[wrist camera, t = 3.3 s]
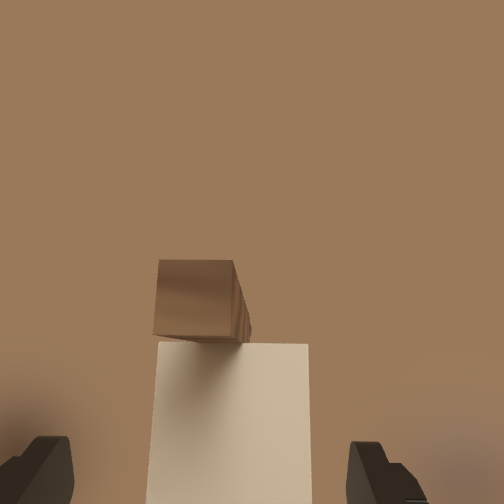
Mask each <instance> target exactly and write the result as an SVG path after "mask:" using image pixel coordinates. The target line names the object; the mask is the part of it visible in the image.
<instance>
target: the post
mask: <svg viewBox="0 0 504 504" xmlns="http://www.w3.org/2000/svg"><path fill="white" fill-rule="evenodd" d="M156 372H157V373H156V384H155V396H154V408H153V421H152V433H151V446H150V458H149V470H148V483H147V496H146V504H312V487H311V450H310V448H311V447H310V408H309V407H310V406H309V369H308V344H270V343H268V344H267V343H206V342H159V347H158V359H157V371H156Z"/></svg>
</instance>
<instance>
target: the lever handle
mask: <svg viewBox="0 0 504 504" xmlns="http://www.w3.org/2000/svg"><path fill="white" fill-rule="evenodd" d="M153 335H157V336H163V337H169V338H175V339H181V340H187V341H193V342H206V343H249V342H250V340H249V339H250V336H251V325H250V317H249V314H248V310H247V307H246V304H245V300H244V297H243V294H242V290H241V287H240V284H239V280H238V277H237V274H236V270H235V267H234V264H233V261H232V260H159V267H158V280H157V291H156V302H155V314H154V326H153Z"/></svg>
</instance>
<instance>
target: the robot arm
mask: <svg viewBox="0 0 504 504" xmlns="http://www.w3.org/2000/svg"><path fill="white" fill-rule="evenodd" d="M73 489H74V473H73V465H72V457H71V450H70V442H69V439H68V438H67V437H66V436H38V437H36V438H35V439H34V440H33V441H32V442H31V444H30V445H29V446H28V448H27V449H26V450H25V452H24V453H23V454H22V456H21V457H15V456H14V457H12V458H11V459H9V460H8V461H7V462H5V463H4V464H3V465H1V466H0V504H69V503H70V501H71V498H72V494H73ZM346 496H347V504H429V503H427V499H426V497H425V495H424V493H423V491H422V489H421V487H420V485H419V483H418V481H417V479H416V478H415V477H414V476H413V475H412V474H411V473H410V472H409V471H408V470H407V469H406V468H405V467H404V466H403V465H402V464H401V463H389V461H388V459H387V457H386V455H385V452H384V451H383V448H382V446H381V444H380V443H379V442H357V441H356V442H355V441H353V442H351V445H350V452H349V461H348V472H347V480H346Z"/></svg>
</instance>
